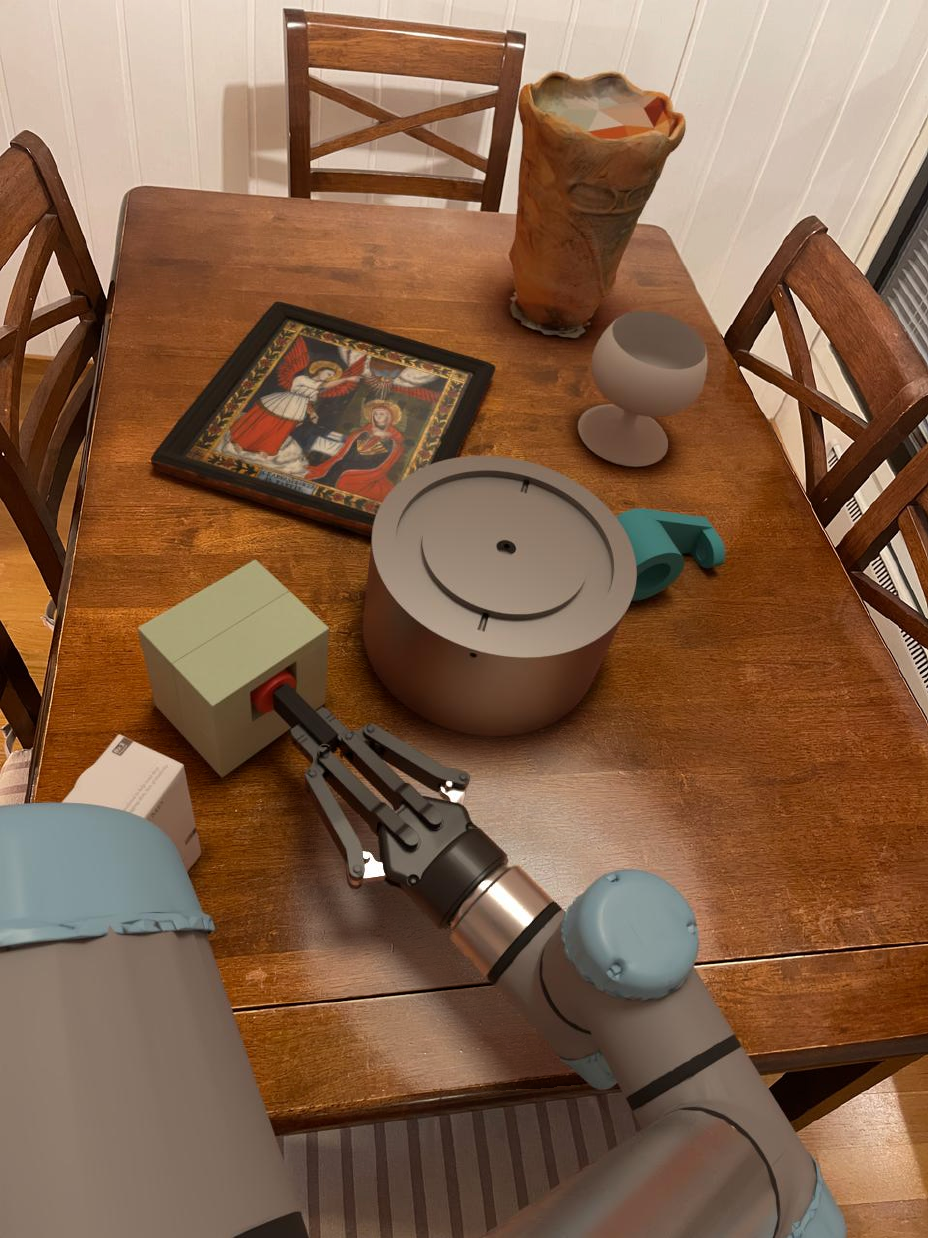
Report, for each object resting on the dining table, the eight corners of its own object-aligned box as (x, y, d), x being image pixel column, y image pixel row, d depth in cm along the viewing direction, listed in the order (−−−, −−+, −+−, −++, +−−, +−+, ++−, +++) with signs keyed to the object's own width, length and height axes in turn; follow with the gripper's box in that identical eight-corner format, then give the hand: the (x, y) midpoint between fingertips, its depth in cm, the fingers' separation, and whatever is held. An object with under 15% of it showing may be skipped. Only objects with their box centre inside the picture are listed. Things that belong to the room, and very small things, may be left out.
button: (295, 695, 78) (296, 669, 75) (259, 720, 76) (257, 695, 72) (256, 655, 80) (254, 629, 76) (219, 679, 77) (216, 653, 74)
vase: (627, 290, 139) (695, 83, 115) (612, 363, 126) (685, 147, 103) (497, 255, 139) (539, 42, 116) (469, 324, 126) (509, 100, 103)
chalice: (568, 395, 120) (598, 296, 108) (667, 410, 121) (707, 314, 109) (572, 465, 111) (605, 366, 99) (679, 480, 112) (724, 384, 101)
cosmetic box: (143, 939, 69) (113, 865, 58) (78, 905, 70) (35, 825, 58) (205, 849, 74) (188, 764, 63) (143, 818, 75) (116, 728, 63)
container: (613, 580, 100) (650, 496, 90) (577, 767, 85) (617, 692, 74) (402, 519, 101) (415, 428, 91) (328, 692, 85) (333, 607, 75)
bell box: (325, 703, 85) (329, 628, 75) (221, 778, 78) (212, 706, 69) (259, 638, 88) (255, 558, 79) (154, 705, 82) (136, 627, 72)
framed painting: (246, 306, 121) (245, 287, 119) (496, 363, 122) (500, 345, 119) (139, 494, 97) (135, 474, 95) (451, 563, 98) (454, 546, 96)
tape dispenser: (585, 561, 101) (603, 514, 95) (694, 539, 106) (718, 493, 100) (611, 606, 98) (632, 559, 92) (722, 581, 103) (749, 535, 97)
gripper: (412, 973, 67) (219, 762, 75) (525, 861, 73) (337, 679, 81) (423, 940, 61) (213, 716, 69) (545, 822, 68) (340, 631, 76)
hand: (280, 696), depth 75 cm, fingers closed
